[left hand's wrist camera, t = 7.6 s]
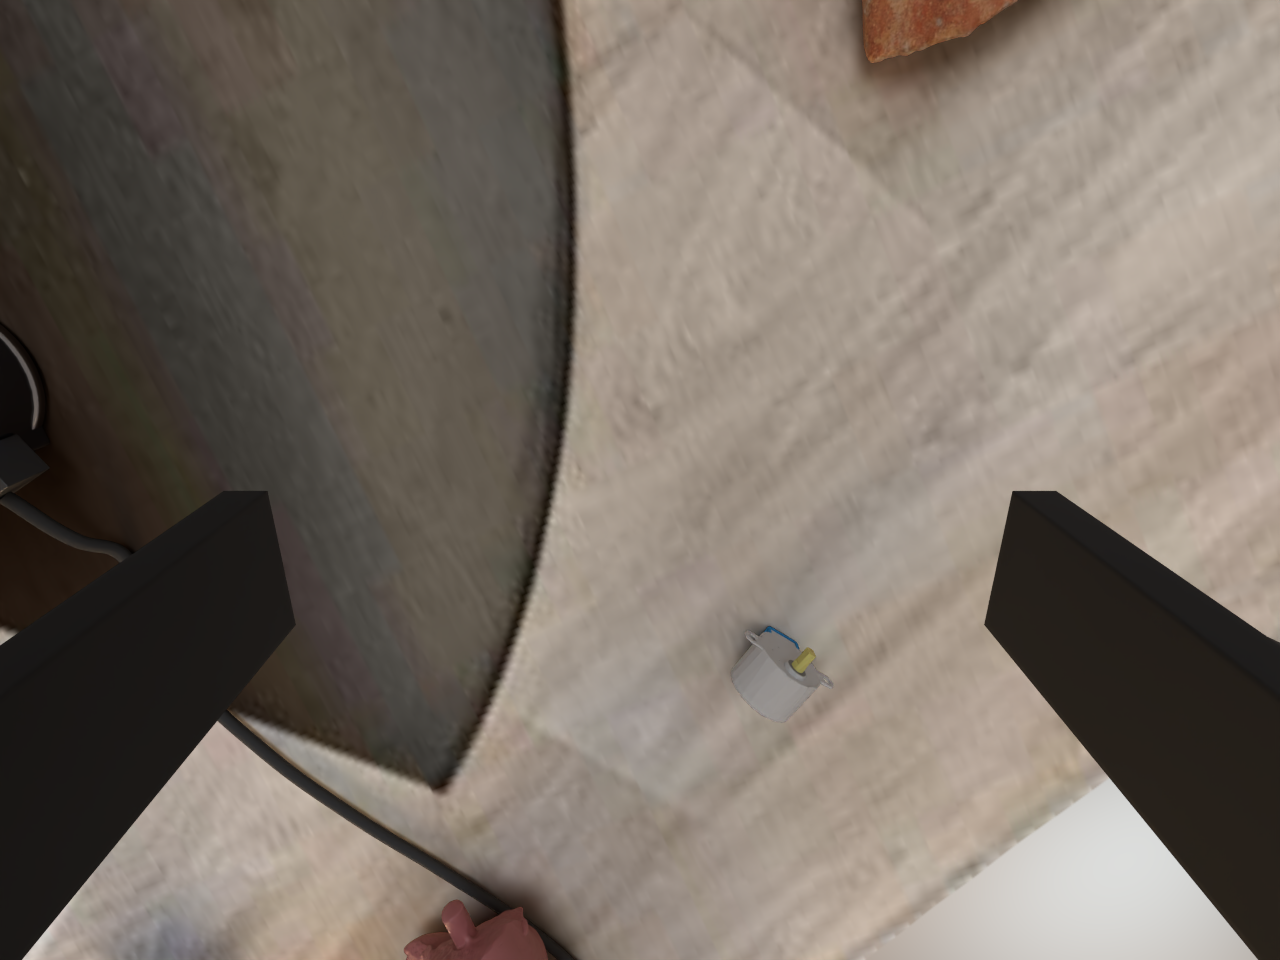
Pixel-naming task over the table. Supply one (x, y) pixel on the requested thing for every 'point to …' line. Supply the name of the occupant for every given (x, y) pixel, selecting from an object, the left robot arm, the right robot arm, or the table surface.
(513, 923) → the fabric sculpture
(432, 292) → the table surface
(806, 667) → the electric motor
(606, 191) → the table surface
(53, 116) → the table surface
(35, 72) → the table surface
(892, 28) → the ceramic shard
